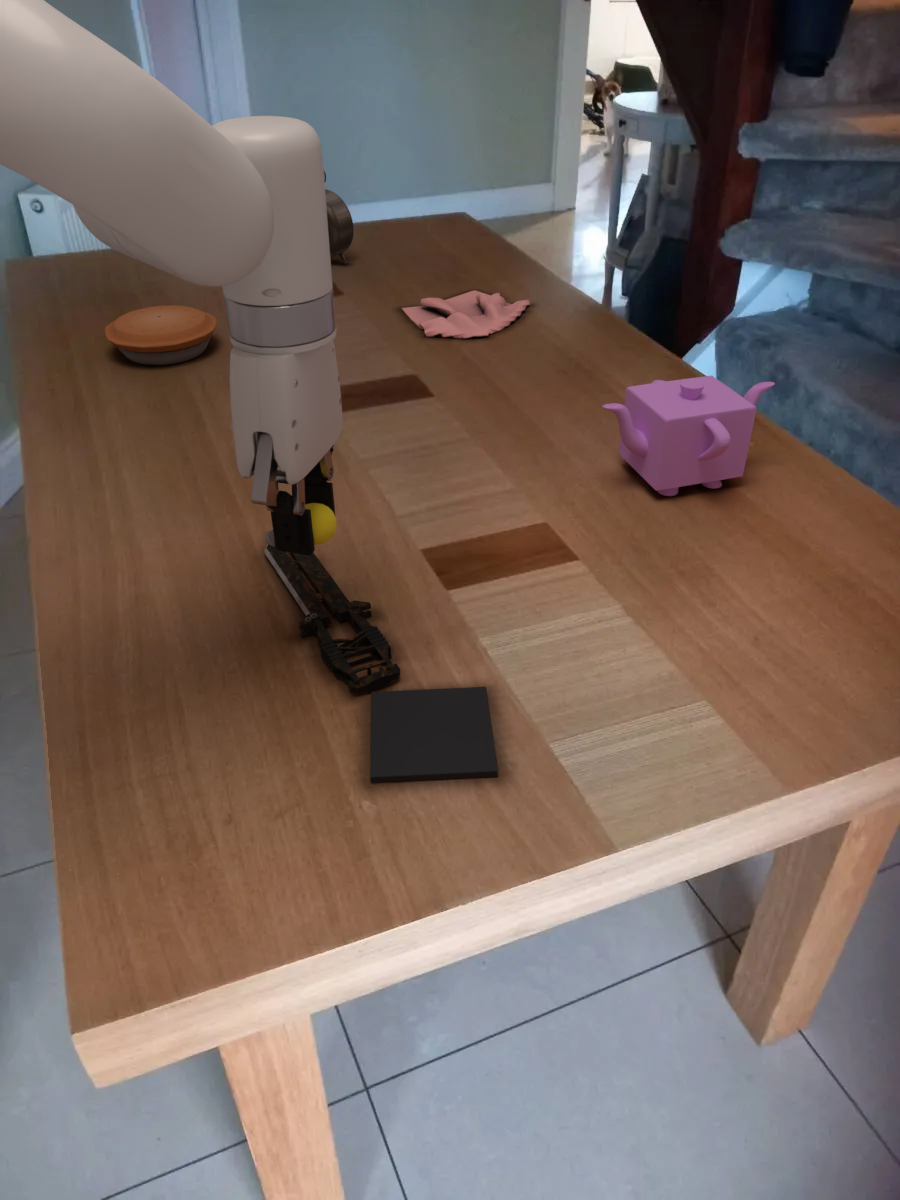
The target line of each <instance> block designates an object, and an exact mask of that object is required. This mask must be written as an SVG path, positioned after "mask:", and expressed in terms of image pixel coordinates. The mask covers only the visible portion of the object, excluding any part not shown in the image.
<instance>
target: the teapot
mask: <svg viewBox="0 0 900 1200" xmlns="http://www.w3.org/2000/svg"><path fill="white" fill-rule="evenodd" d="M775 385H776V382H774V381H761V382H758V383H756V384H754V385H753V386H752V387H750V388H749V389H748V390H747V392H746V393H745V394H744V396H742V395H740V394H739V393H737V392H736V391H735V390H733V389H732V388H730V387H729V386H727V385H726V384H725V383H724V382H722V381H720V380H719V379H718V378H716V377H714V375H705V376H696V377H690V378H682V379H674V380H668V381H666V380H664V379H655V380H653V381H651V383H644V384H637V385H631V386H627V387H626V389H625V397H624V404H623V403H622V404H621V403H616V402H615V403H612V402H611V403H605V404H602V406H601V407H602V408H604V409H605V410H608V411H610V412H612V413H613V414H614V415H615V417H616V418H617V422H618V428H619V434H620V440H619V441H620V442H619V449H618V450H619V451H618V455H619V456H620V457H621V458H622V459H623V460H624V461H625V462H626V463H627V464H628V465H629V466H630V467H631V468H632V469H633V470H634V471H635V472H636V473H637V474H638V475H639V476H640V477H641V478H642V479H643V480H644V481H645V482H646V483H647V484H648V485H649V486H651V488H652V489H654V491H656V492H657V493H658V494H660V495H662V496H665V497H666V496H667V497H673V496H677V494H679V489H680V488H681V487H687V486H688V487H689V486H694V485H699V484H701V485H702V486H703V487H705V488H708V489H719V488H721V487H722V486H723V483H722V481H723V480H724V481H725V480H729V479H730V480H731V479H733V478H735V479H736V478H741V477H744V474H745V473H744V472H745V468H746V463H747V457H748V453H749V448H750V443H751V438H752V433H753V429H754V423H755V418H756V414H757V409H758V408H757V406H756V405H757V404H758V401H759V400H760V398H761V396H762V395H764V393H765V392H767V391H768V390H769V389H770V388H772V387H774V386H775Z"/></svg>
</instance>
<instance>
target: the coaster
mask: <svg viewBox="0 0 900 1200" xmlns="http://www.w3.org/2000/svg"><path fill="white" fill-rule="evenodd" d="M487 691H488V689H487V687H486V686H473V687H472V686H471V687H470V686H469V687H450V688H427V689H406V690H404V689H403V690H385V691H382V690H381V691H380V690H379V691H374V692H371V693H370V755H369V756H370V759H369V760H370V763H369V764H370V767H369V771H370V772H369V777H370V778H369V779H370V783H390V782H412V781H413V782H414V781H430V780H433V781H434V780H450V779H454V780H455V779H471V778H472V779H473V778H490V777H494V778H495V777H498V775H499V769H498V762H497V754H496V748H495V740H494V734H493V733H494V732H493V725H492V720H491V711H490V706H489V699H488V692H487Z"/></svg>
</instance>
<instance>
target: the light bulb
mask: <svg viewBox="0 0 900 1200" xmlns="http://www.w3.org/2000/svg"><path fill="white" fill-rule="evenodd" d="M305 509H309V510H311V519H312V528H313V538H314V546H318V545H323V544H325V543H327V542H329V541H330V540H331V539H332V538H333V537H334V536H335V535H336V534H335V533H336V531H337V525H338V521H337V517H336V514H335V515H334V513H333V511H332V510H331V509H330V508H329V507H328V506H326V505H324V504H319V503H310V504H306V505H305ZM264 541H265V543H266V545H267V544H269V545H271V546H273V547H275V540H274V533H273V529H271V530H268V531H267V533H266V535H265V537H264Z"/></svg>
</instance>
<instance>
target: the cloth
mask: <svg viewBox="0 0 900 1200" xmlns="http://www.w3.org/2000/svg"><path fill="white" fill-rule="evenodd" d="M530 305H531V303H530V300H529V299H523V300H516V301H515V302H514V303H509V302H507V301H506V299H505V298H504V297H503V295H502V293H500V292H494V293H493V294H488V293H485V292H481V291H478V290H471V291H468V292H465V293H462V294H459V295H456V296H452V297H449V298H447V299H443V298H440V297H425V298H424V297H423V298H421V299H420V305H419V306H407V307H401V310H402V312H404V314H405V315H406V316H407V317H408V318H409V320H411V322H413V323H414V324H415V325H416V326H417V327H418V328H419V329H421V330H424V334H425V336H426V337H428V338H437V337H439V338H453V339H461V340H465V339H470V338H484V337H489V335H492V334H495V333H497V332H500V331H502V330H503V329H504V330H505V328H506V327H509V326H510V325H511V323H512V322H515V321H516V320H517V318H519V317H521V315H522V313H523V312H524V311H526V308H527V307H528V306H530Z"/></svg>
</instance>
